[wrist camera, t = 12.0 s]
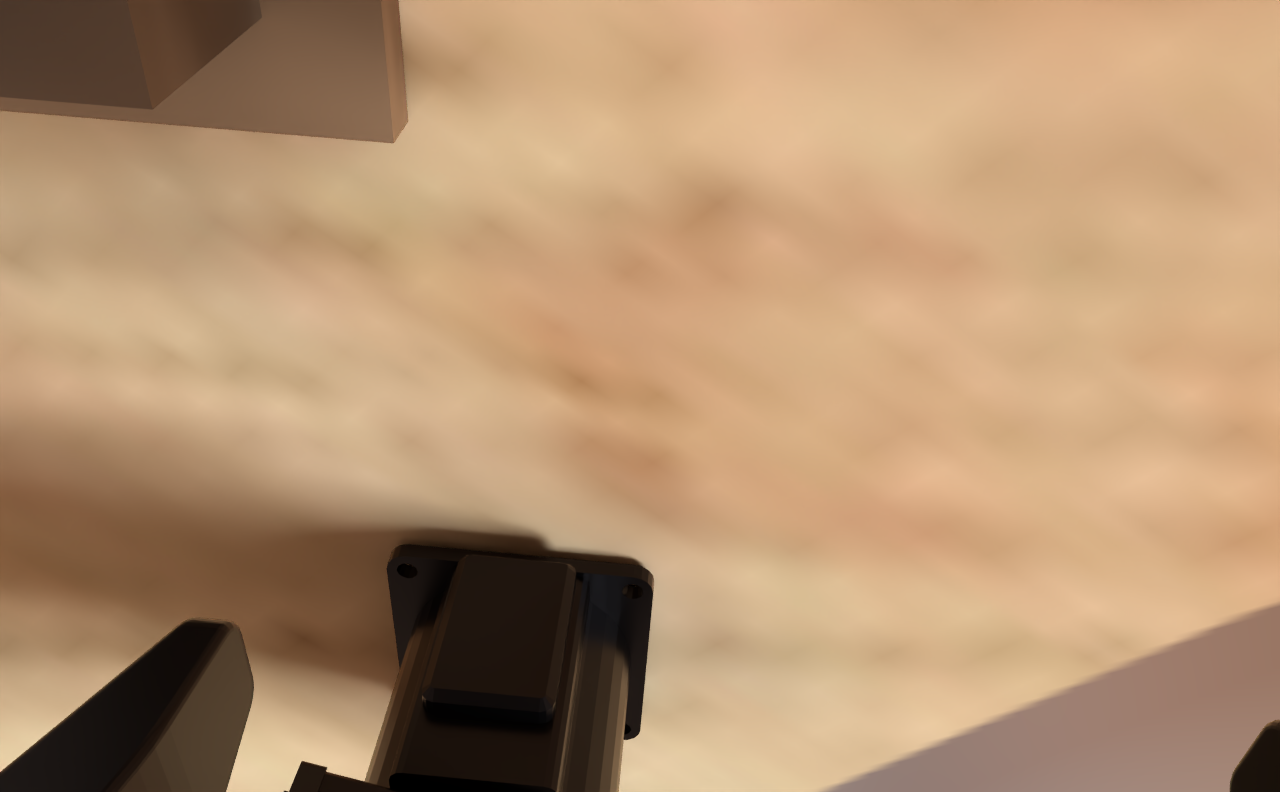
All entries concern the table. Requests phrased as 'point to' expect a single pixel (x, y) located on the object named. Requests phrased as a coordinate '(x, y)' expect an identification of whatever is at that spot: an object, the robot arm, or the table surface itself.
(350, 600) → the table surface
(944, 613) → the table surface
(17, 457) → the table surface
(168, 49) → the display stand
